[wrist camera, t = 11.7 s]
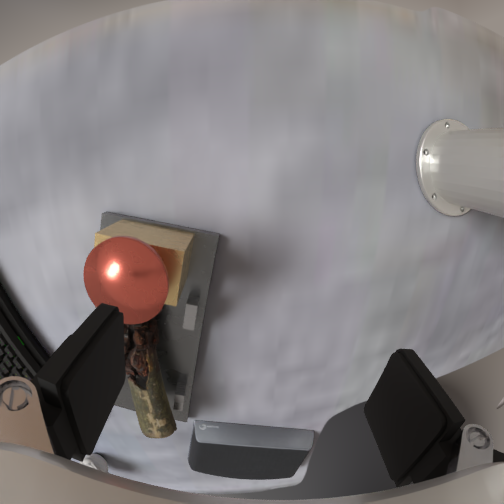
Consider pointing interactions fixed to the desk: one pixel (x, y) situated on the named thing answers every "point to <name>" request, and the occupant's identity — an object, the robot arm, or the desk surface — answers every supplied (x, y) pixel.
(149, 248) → the stand
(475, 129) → the robot arm
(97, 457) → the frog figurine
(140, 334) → the morel mushroom
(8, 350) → the keyboard
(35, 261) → the desk surface
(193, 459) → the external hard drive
